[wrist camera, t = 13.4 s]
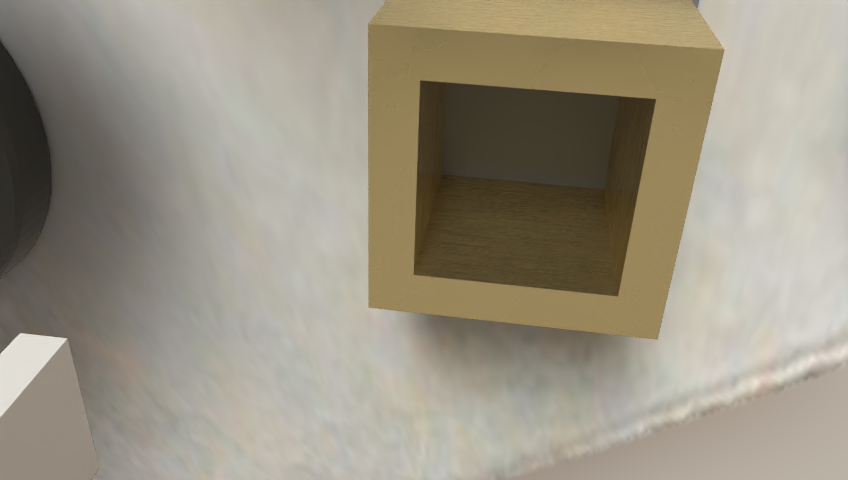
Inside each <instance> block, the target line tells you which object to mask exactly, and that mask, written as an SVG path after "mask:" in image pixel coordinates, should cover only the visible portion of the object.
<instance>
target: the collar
mask: <svg viewBox="0 0 848 480" xmlns="http://www.w3.org/2000/svg"><path fill="white" fill-rule="evenodd" d="M723 54H724V48H723V47H722V45H721V44H720V42H719V41H718V39H717V38H716V36H715V35H714V33H713V32H712V30H711V29H710V27H709V26H708V24H707V23H706V21H705V20H704V18H703V17H702V15H701V14H700V12H699V11H698V9H697V8H696V6H695V5H694V3H693V2H692V0H386V2H385V3H384V4H383V6H382V7H381V8H380V9H379V11H378V12H377V13H376V15H375V16H374V17H373V18H372V20H371V21H370V22H369V24H368V170H369V308H378V309H387V310H396V311H405V312H414V313H423V314H432V315H441V316H450V317H459V318H468V319H477V320H486V321H495V322H504V323H513V324H522V325H531V326H540V327H549V328H558V329H567V330H576V331H585V332H595V333H604V334H613V335H622V336H631V337H640V338H649V339H658V335H659V331H660V326H661V322H662V318H663V313H664V309H665V305H666V300H667V296H668V292H669V287H670V283H671V279H672V274H673V270H674V266H675V261H676V257H677V253H678V248H679V244H680V240H681V235H682V231H683V227H684V222H685V218H686V214H687V209H688V205H689V201H690V196H691V192H692V188H693V183H694V179H695V175H696V170H697V166H698V162H699V157H700V153H701V149H702V144H703V140H704V136H705V132H706V127H707V123H708V119H709V114H710V110H711V106H712V101H713V97H714V93H715V88H716V84H717V80H718V75H719V71H720V67H721V62H722V58H723ZM447 82H449V83H461V84H474V85H486V86H499V87H511V88H524V89H536V90H549V91H561V92H574V93H586V94H599V95H612V96H620V97H619V102H618V108H617V114H616V120H615V126H614V132H613V138H612V144H611V150H610V156H609V162H608V168H607V174H606V180H605V186H604V189H596V188H585V187H574V186H563V185H553V184H542V183H531V182H520V181H509V180H498V179H487V178H476V177H466V176H455V175H444V174H442V165H443V145H444V125H445V106H446V86H447Z"/></svg>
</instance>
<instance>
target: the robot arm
mask: <svg viewBox="0 0 848 480" xmlns="http://www.w3.org/2000/svg"><path fill="white" fill-rule="evenodd" d="M50 191H51V168H50V159H49V152H48V146H47V141H46V137H45V133H44V129H43V126H42V123H41V120H40V117H39V114H38V111H37V109H36V106H35V104H34V101H33V99H32V96H31V94H30V92H29V90H28V88H27V86H26V84H25V82H24V80H23V78H22V76H21V74H20V73H19V71H18V69H17V67H16V66H15V64H14V62H13V61H12V59H11V58H10V56H9V54H8V53H7V51H6V50H5V49H4V47H3V46H2V44H1V43H0V278H2V277H3V276H4V275H5V274H6V273H7V272H8V271H10V270H11V269H12V268H13V267H14V266H15V265H16V264H17V263H19V262H20V261H21V259H22V258H23V257H24V256H25V255H26V254H27V253H28V251H29V250H30V249H31V248H32V246H33V244H34V243H35V241H36V240H37V238H38V236H39V234H40V232H41V229H42V227H43V224H44V221H45V218H46V215H47V211H48V207H49V200H50ZM99 468H100V467H99V463H98V459H97V455H96V451H95V447H94V443H93V439H92V435H91V431H90V427H89V423H88V419H87V415H86V411H85V407H84V403H83V399H82V395H81V391H80V387H79V383H78V378H77V374H76V370H75V366H74V362H73V358H72V354H71V350H70V346H69V342H68V338H59V337H50V336H41V335H32V334H23V333H20V334H19V335H18V336H17V337H16V338H15V339H14V340H13V341H12V342H11V343H10V344H9V345H8V346H7V347H6V348H5V350H4V351H3V352H2V353H1V354H0V480H92V479H93V478H94V476H95V474H96V473H97V471H98V470H99Z"/></svg>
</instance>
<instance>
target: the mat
mask: <svg viewBox="0 0 848 480" xmlns="http://www.w3.org/2000/svg"><path fill="white" fill-rule="evenodd" d="M692 2H693V3H694V5H695V6H696V8H697V7H698V2H699V0H692ZM619 97H620V96H612V95H599V94H586V93H574V92H561V91H549V90H536V89H524V88H511V87H499V86H486V85H474V84H461V83H449V82H447V86H446V106H445V125H444V145H443V165H442V174H444V175H455V176H466V177H476V178H487V179H498V180H509V181H520V182H531V183H542V184H553V185H563V186H574V187H585V188H596V189H604V186H605V180H606V174H607V168H608V162H609V156H610V150H611V144H612V138H613V132H614V126H615V120H616V114H617V108H618V102H619Z"/></svg>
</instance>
